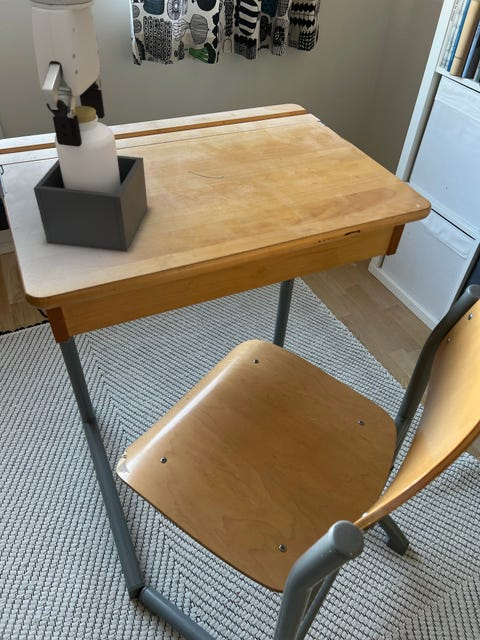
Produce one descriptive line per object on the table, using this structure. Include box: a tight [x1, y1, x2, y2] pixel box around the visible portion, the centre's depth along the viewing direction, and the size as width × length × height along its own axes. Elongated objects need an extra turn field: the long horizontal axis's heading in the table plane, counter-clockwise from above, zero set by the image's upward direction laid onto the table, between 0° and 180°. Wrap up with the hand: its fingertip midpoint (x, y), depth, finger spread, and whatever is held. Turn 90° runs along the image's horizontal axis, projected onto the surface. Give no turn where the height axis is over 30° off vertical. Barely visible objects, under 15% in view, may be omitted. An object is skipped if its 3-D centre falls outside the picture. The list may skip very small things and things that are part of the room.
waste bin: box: [33, 154, 149, 253], centre depth 80 cm, size 13×13×10 cm
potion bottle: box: [54, 105, 121, 194], centre depth 77 cm, size 8×8×18 cm
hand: (82, 130), depth 73 cm, fingers open, 9 cm apart
